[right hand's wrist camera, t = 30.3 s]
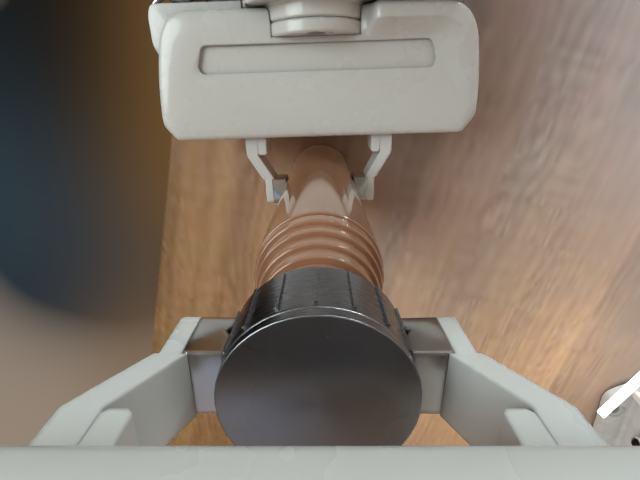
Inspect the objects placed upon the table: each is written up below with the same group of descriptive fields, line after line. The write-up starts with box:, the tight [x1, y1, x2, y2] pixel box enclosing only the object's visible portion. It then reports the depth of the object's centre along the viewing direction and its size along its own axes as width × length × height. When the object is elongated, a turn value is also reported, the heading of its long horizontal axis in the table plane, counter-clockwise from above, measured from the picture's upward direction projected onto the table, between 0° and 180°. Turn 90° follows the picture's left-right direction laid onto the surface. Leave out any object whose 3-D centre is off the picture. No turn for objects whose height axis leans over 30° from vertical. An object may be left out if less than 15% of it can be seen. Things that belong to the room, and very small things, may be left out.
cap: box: [214, 266, 422, 446], centre depth 9 cm, size 5×5×2 cm
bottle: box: [255, 145, 384, 292], centre depth 21 cm, size 5×5×26 cm
